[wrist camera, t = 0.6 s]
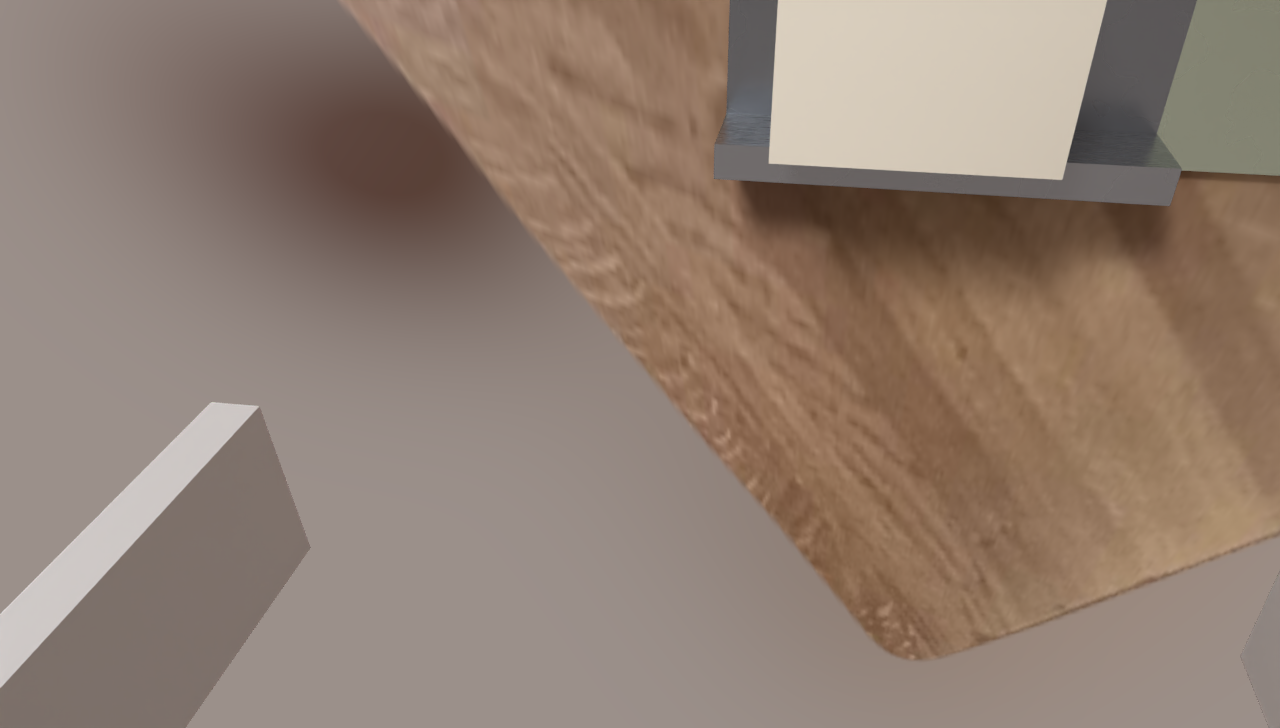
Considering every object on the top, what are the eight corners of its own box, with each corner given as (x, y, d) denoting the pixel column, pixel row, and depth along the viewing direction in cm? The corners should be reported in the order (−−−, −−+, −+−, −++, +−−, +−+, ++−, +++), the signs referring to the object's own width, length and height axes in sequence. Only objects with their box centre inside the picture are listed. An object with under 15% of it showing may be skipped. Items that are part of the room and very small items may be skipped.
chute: (736, -170, 28) (721, -160, 25) (1676, -180, 23) (1783, -169, 21) (727, 142, 33) (713, 178, 30) (1486, 181, 29) (1550, 229, 26)
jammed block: (797, -98, 28) (781, -62, 23) (1076, -96, 27) (1121, -59, 22) (784, 97, 31) (768, 163, 26) (1031, 108, 30) (1062, 179, 25)
